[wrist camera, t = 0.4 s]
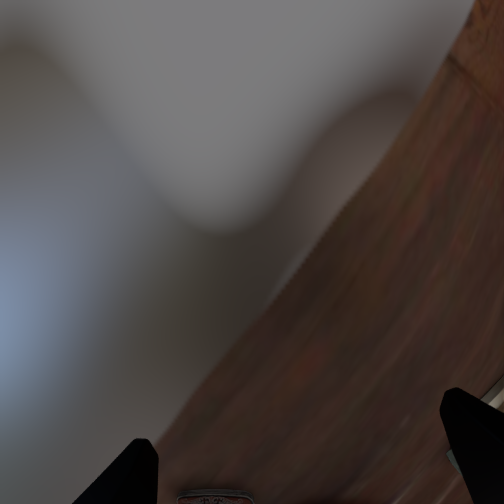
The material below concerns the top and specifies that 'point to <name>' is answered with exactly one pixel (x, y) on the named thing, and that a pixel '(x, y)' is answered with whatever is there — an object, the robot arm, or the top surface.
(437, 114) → the top surface
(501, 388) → the groove base
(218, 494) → the lighter
